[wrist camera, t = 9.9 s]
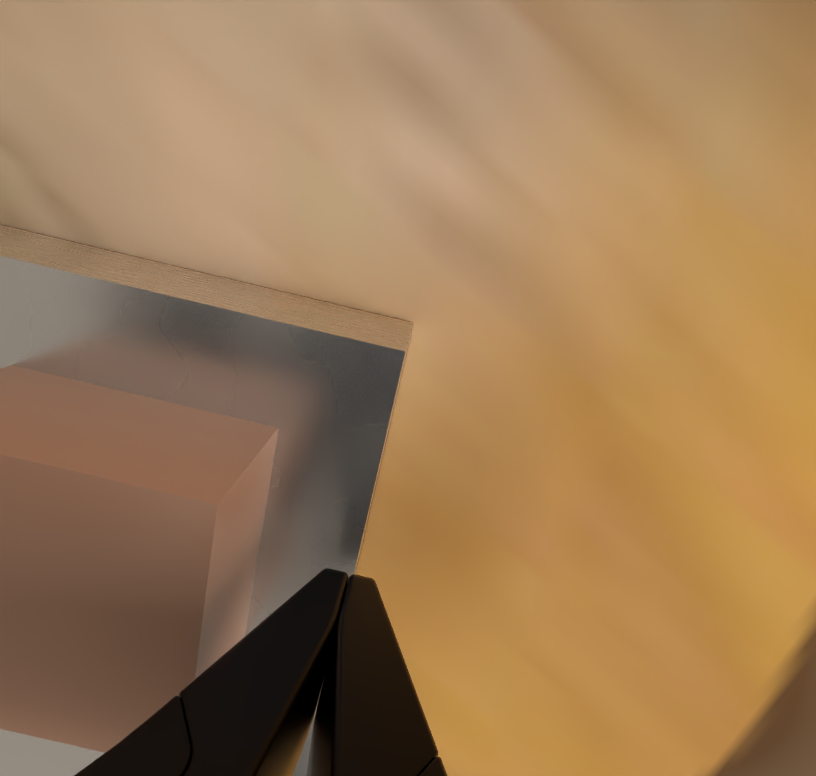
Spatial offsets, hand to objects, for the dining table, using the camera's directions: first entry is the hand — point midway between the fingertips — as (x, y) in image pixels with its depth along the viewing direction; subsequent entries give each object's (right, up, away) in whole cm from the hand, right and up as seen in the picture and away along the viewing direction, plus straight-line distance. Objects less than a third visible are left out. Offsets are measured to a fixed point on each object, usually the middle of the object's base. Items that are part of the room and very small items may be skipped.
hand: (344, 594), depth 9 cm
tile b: (-4, +1, +1) cm, 4 cm away
